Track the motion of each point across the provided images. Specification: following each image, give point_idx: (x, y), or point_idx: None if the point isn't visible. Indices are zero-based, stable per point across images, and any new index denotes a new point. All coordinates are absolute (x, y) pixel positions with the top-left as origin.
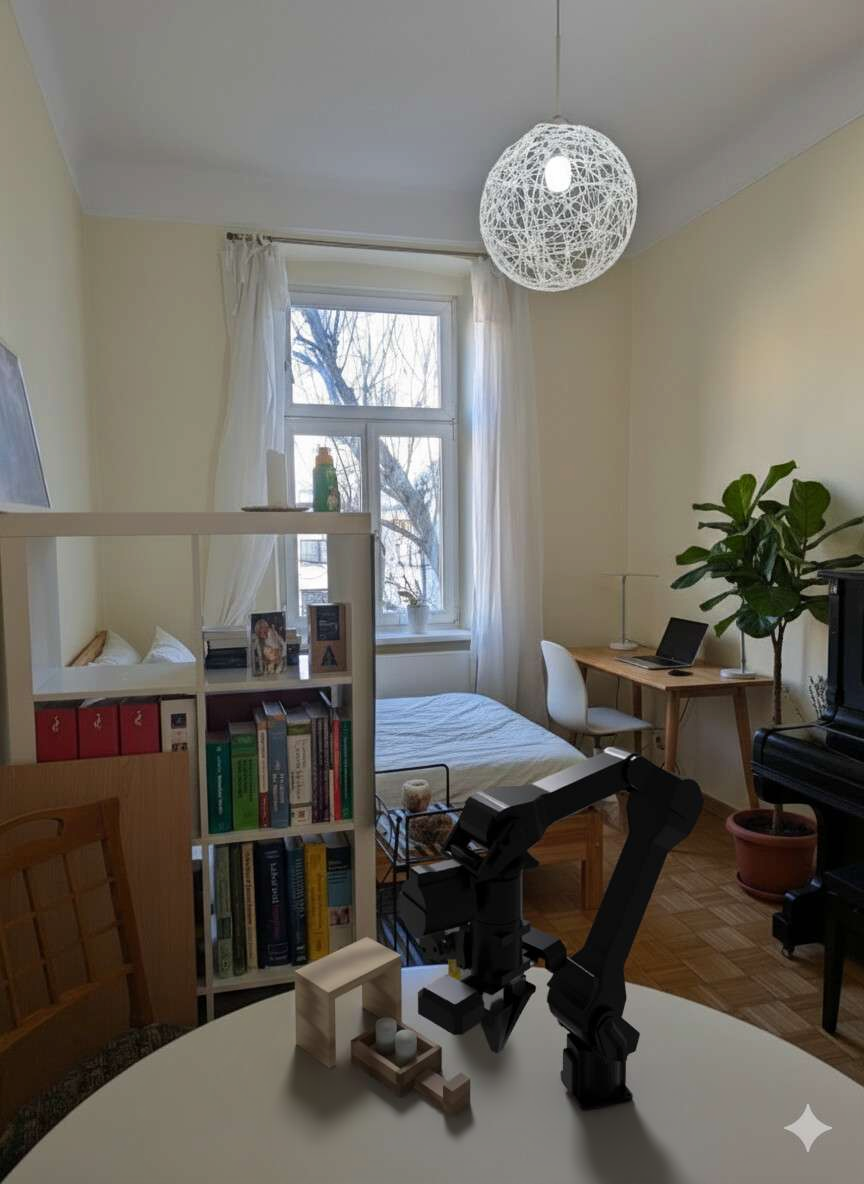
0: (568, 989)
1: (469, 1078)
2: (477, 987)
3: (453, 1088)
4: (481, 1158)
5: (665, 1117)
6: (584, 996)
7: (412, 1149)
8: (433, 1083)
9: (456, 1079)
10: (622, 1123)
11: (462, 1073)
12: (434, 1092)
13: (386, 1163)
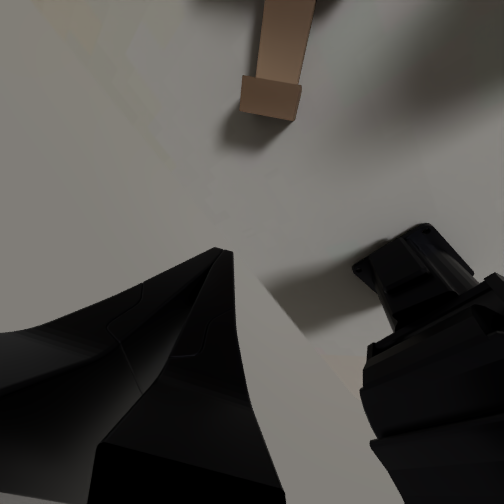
0: (476, 470)
1: (291, 119)
2: None
3: (247, 106)
4: (215, 194)
5: (375, 327)
6: (419, 491)
7: (161, 98)
8: (280, 13)
9: (275, 92)
10: (348, 299)
11: (299, 92)
12: (261, 40)
13: (117, 79)
